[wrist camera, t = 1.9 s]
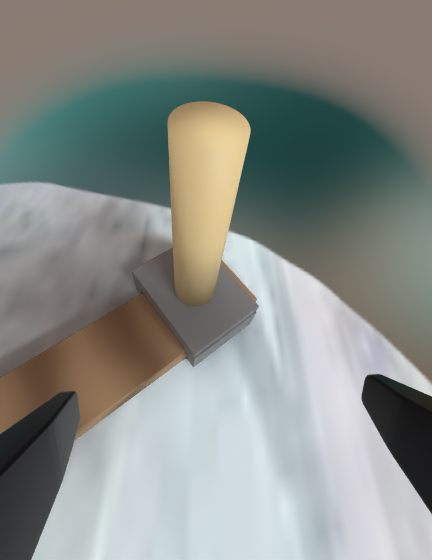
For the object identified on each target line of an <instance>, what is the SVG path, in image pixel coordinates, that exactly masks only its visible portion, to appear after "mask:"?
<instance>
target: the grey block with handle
mask: <svg viewBox="0 0 432 560" xmlns="http://www.w3.org/2000/svg"><path fill="white" fill-rule="evenodd" d="M249 136H250V126H249V123H248V121H247V120H246V119H245V118H244V116H243V115H241V114H240V113H239V112H238V111H236V110H234V109H232V108H230V107H228V106H225V105H222V104H219V103H214V102H191V103H188V104H184V105H181V106H179V107H178V108H176V109H175V110H174V111H172V113H171V114H170V116H169V118H168V142H169V166H170V187H171V213H172V236H173V248H172V249H170V250H168V251H166V252H164V253H162V254H161V255H159V256H157V257H155V258H153V259H152V260H150V261H148V262H146V263H144V264H142V265H141V266H139V267H137V268H135V269H133V270H132V273H133V278H134V281H135V284H136V288H137V291H138V292H139V293H140V295H141V294H142V293H143V294H144V295H145V297H146V298H147V299H148V301H149V302H150V303H151V305H152V306H153V307H154V309H155V310H156V312H157V313H158V314H159V316H160V317H161V318H162V320H163V321H164V322H165V324H166V325H167V326H168V328H169V329H170V331H171V332H172V333H173V335H174V336H175V337H176V339H177V340H178V341H179V343H180V344H181V345H182V347H183V348H184V350H185V351H186V352H187V354H188V355H187V359H188V361H189V362H190V363H191V365H192V366H193V367H194V366H195V365H197V364H198V363H199V362H201V361H202V360H203V359H204V358H206V357H207V356H208V355H210V354H211V353H212V352H214V351H215V350H216V349H217V348H219V347H220V346H221V345H223V344H224V343H225V342H227V341H228V340H229V339H230V338H232V337H233V336H234V335H236V334H237V333H238V332H240V331H241V330H242V329H243V328H245V327H246V326H247V325H249V324H250V322H251V321H252V319H253V317H254V316H255V314H256V310H257V308H258V307H259V306H258V305H257V303H256V302H255V301H254V300H253V299H252V298H251V297H250V296H249V295H248V294H247V292H246V291H245V290H244V289H243V288H242V287H241V286H240V285H239V284H238V282H237V281H236V280H235V279H234V278H233V277H232V276H231V275H230V274H229V272H228V271H227V270H226V269H225V268H224V267H223V266H222V265H221V260H222V256H223V251H224V247H225V242H226V238H227V234H228V229H229V225H230V220H231V216H232V211H233V207H234V203H235V198H236V193H237V189H238V185H239V181H240V176H241V172H242V167H243V162H244V159H245V154H246V150H247V145H248V141H249Z"/></svg>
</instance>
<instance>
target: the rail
mask: <svg viewBox="0 0 432 560" xmlns="http://www.w3.org/2000/svg"><path fill="white" fill-rule="evenodd" d="M221 265H222V266H223V267H224V268H225V269H226V270H227V271H228V272H229V274H230V275H231V276H232V277H233V278H234V279H235V280H236V281H237V282H238V284H239V285H240V286H241V287H242V288H243V289H244V290H245V291H246V292H247V294H248V295H249V296H250V297H251V298H252V299H253V300H254V301H255V302H256V300H257V298H256V297H255V296H254V295H253V294H252V293H251V292H250V291H249V289H248V288H247V287H246V286H245V285H244V284H243V283H242V282H241V281H240V280H239V278H238V277H237V276H236V275H235V274H234V273H233V272H232V271H231V270H230V269H229V268H228V266H227V265H226V264H225V263H224V262H223V261H222V260H221ZM187 355H188V354H187V352H186V351H185V350H184V348H183V347H182V345H181V344H180V343H179V341H178V340H177V339H176V337H175V336H174V335H173V333H172V332H171V331H170V329H169V328H168V326H167V325H166V324H165V322H164V321H163V320H162V318H161V317H160V316H159V314H158V313H157V312H156V310H155V309H154V307H153V306H152V305H151V303H150V302H149V301H148V299H147V298H146V297H145V295H144V294H143V293H142V294H141V295H139V296H137V297H136V298H134V299H132V300H131V301H129V302H127V303H125V304H124V305H122V306H120V307H119V308H117V309H115V310H114V311H112V312H110V313H109V314H107V315H105V316H104V317H102V318H100V319H99V320H97V321H95V322H93V323H92V324H90V325H88V326H87V327H85V328H83V329H82V330H80V331H78V332H77V333H75V334H73V335H72V336H70V337H68V338H67V339H65V340H63V341H61V342H60V343H58V344H56V345H55V346H53V347H51V348H50V349H48V350H46V351H45V352H43V353H41V354H40V355H38V356H36V357H35V358H33V359H31V360H29V361H28V362H26V363H24V364H23V365H21V366H19V367H18V368H16V369H14V370H13V371H11V372H9V373H8V374H6V375H4V376H3V377H1V378H0V434H1V433H2V432H4V431H5V430H6V429H8V428H9V427H11V426H12V425H14V424H15V423H16V422H18V421H19V420H21V419H22V418H24V417H25V416H26V415H28V414H29V413H31V412H32V411H34V410H35V409H36V408H38V407H39V406H41V405H42V404H44V403H45V402H46V401H48V400H49V399H51V398H52V397H54V396H55V395H56V394H58V393H60V392H63V391H75V392H76V393H77V396H78V403H79V410H80V421H79V426H78V429H77V433H76V436H75V440H76V439H77V438H78V437H80V436H81V435H82V434H84V433H85V432H86V431H88V430H89V429H90V428H92V427H93V426H94V425H96V424H97V423H98V422H100V421H101V420H102V419H104V418H105V417H107V416H108V415H109V414H111V413H112V412H113V411H115V410H116V409H117V408H119V407H120V406H121V405H123V404H124V403H125V402H127V401H128V400H129V399H131V398H132V397H133V396H135V395H136V394H137V393H139V392H140V391H141V390H143V389H144V388H145V387H147V386H148V385H150V384H151V383H152V382H154V381H155V380H156V379H158V378H159V377H160V376H162V375H163V374H164V373H166V372H167V371H168V370H170V369H171V368H172V367H174V366H175V365H176V364H178V363H179V362H180V361H182V360H183V359H184V358H186V357H187Z"/></svg>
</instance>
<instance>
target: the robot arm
mask: <svg viewBox="0 0 432 560" xmlns="http://www.w3.org/2000/svg"><path fill="white" fill-rule="evenodd" d="M362 402H363V405H364V406H365V408H366V410H367V412H368V414H369V415H370V417H371V419H372V421H373V423H374V424H375V426H376V428H377V430H378V432H379V433H380V435H381V437H382V439H383V441H384V442H385V444H386V446H387V447H388V449H389V451H390V452H391V454H392V455H393V457H394V459H395V460H396V462H397V463H398V464H399V466H400V467H401V469H402V470H403V472H404V473H405V475H406V476H407V478H408V479H409V481H410V482H411V484H412V485H413V487H414V488H415V490H416V491H417V493H418V494H419V496H420V497H421V499H422V500H423V502H424V503H425V505H426V506H427V508H428V509H429V511H430V512H431V514H432V396H429V395H427V394H425V393H422V392H420V391H418V390H415V389H413V388H411V387H408V386H406V385H404V384H402V383H399V382H397V381H395V380H392V379H390V378H388V377H385V376H383V375H380V374H372V375H367V376H366V378H365V381H364V386H363V391H362ZM79 421H80V410H79V403H78V396H77V393H76V392H75V391H63V392H60V393H58V394H56V395H55V396H54V397H52V398H51V399H49V400H48V401H46V402H45V403H44V404H42V405H41V406H39V407H38V408H36V409H35V410H34V411H32V412H31V413H29V414H28V415H26V416H25V417H24V418H22V419H21V420H19V421H18V422H16V423H15V424H14V425H12V426H11V427H9V428H8V429H6V430H5V431H4V432H2V433H1V434H0V560H31V559H32V556H33V554H34V551H35V549H36V546H37V544H38V541H39V539H40V536H41V534H42V531H43V529H44V526H45V524H46V521H47V519H48V516H49V514H50V511H51V509H52V506H53V504H54V501H55V499H56V496H57V494H58V491H59V488H60V486H61V483H62V480H63V477H64V474H65V471H66V467H67V464H68V460H69V457H70V453H71V450H72V447H73V443H74V440H75V436H76V433H77V429H78V426H79Z"/></svg>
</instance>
